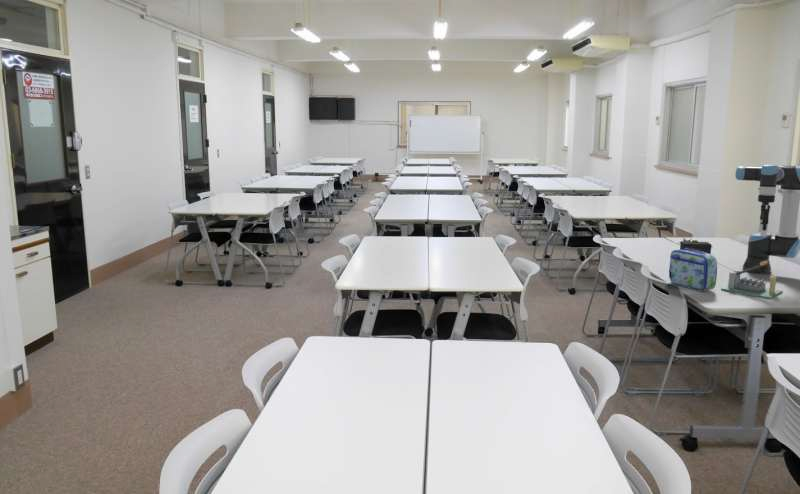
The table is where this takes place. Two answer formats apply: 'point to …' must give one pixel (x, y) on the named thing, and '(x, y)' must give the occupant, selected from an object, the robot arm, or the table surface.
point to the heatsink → (751, 285)
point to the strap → (754, 267)
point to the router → (696, 246)
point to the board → (767, 293)
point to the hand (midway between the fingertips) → (762, 234)
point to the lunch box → (693, 269)
